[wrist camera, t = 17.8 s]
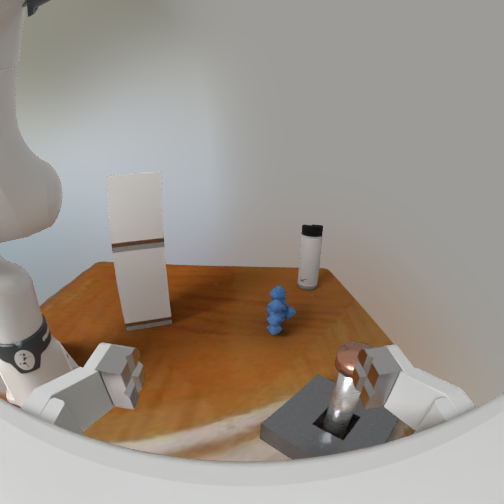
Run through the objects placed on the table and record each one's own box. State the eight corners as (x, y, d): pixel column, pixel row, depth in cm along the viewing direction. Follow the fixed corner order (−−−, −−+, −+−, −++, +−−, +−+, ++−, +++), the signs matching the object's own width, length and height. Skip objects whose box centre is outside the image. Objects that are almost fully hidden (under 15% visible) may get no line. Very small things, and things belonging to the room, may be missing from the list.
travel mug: (301, 291, 81) (307, 226, 75) (295, 282, 88) (299, 221, 82) (320, 289, 82) (327, 226, 76) (312, 281, 89) (318, 221, 83)
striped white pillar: (164, 304, 71) (155, 171, 61) (172, 323, 62) (161, 171, 52) (124, 310, 66) (109, 175, 56) (126, 330, 57) (106, 176, 47)
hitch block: (259, 438, 33) (261, 423, 31) (313, 390, 42) (317, 374, 41) (351, 490, 22) (361, 479, 21) (393, 426, 32) (402, 411, 31)
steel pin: (306, 438, 32) (329, 358, 27) (325, 418, 36) (349, 337, 31) (335, 454, 29) (370, 375, 24) (353, 432, 32) (386, 351, 27)
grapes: (292, 350, 54) (298, 300, 50) (260, 347, 55) (262, 297, 51) (295, 322, 65) (299, 276, 61) (267, 319, 66) (270, 274, 62)
